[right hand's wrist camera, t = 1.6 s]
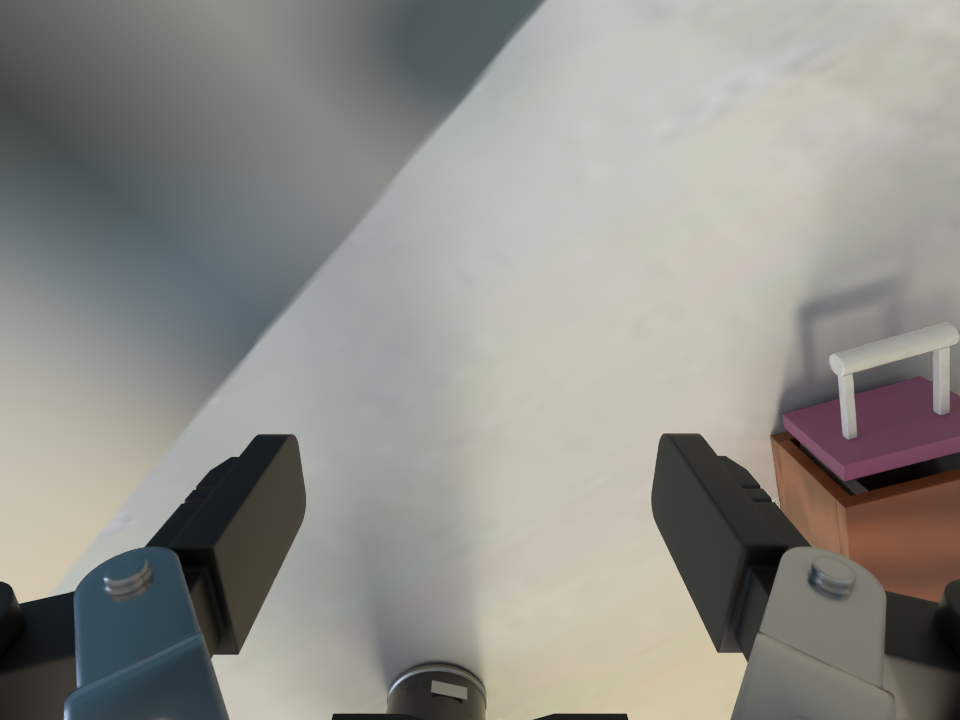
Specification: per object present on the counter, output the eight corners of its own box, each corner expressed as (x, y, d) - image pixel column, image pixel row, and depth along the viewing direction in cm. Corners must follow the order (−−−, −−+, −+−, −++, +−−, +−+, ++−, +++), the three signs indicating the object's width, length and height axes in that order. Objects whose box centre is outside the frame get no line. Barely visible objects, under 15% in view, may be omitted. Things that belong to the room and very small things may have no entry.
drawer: (772, 338, 36) (835, 378, 29) (918, 295, 34) (1017, 327, 28) (798, 543, 42) (855, 612, 36) (922, 513, 41) (1003, 578, 35)
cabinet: (770, 435, 39) (845, 508, 31) (919, 395, 38) (1037, 460, 30) (789, 568, 44) (858, 661, 36) (921, 536, 43) (1024, 625, 35)
